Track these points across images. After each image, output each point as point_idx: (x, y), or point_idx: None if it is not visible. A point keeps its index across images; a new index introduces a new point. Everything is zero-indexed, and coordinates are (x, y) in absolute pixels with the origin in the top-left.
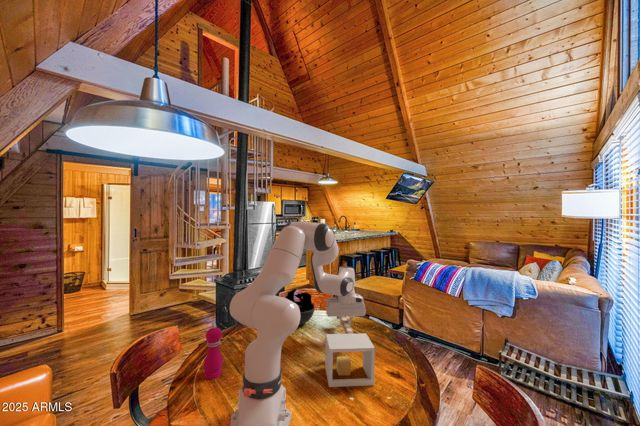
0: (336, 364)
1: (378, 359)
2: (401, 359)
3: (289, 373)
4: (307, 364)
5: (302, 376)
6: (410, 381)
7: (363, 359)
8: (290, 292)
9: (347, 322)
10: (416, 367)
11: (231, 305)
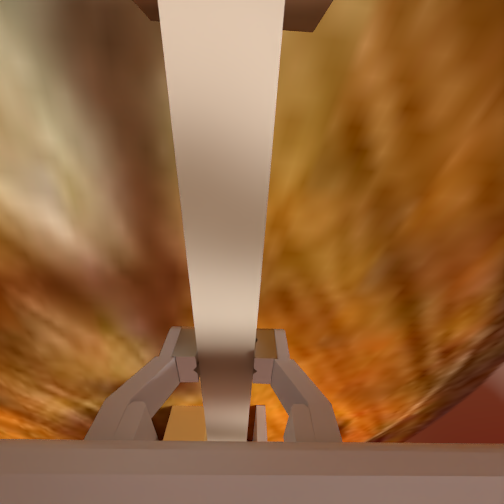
0: (168, 420)
1: (326, 384)
2: (405, 388)
3: (32, 412)
4: (73, 389)
5: (76, 421)
6: (350, 441)
7: (256, 441)
8: None
9: (242, 380)
10: (414, 414)
11: None
